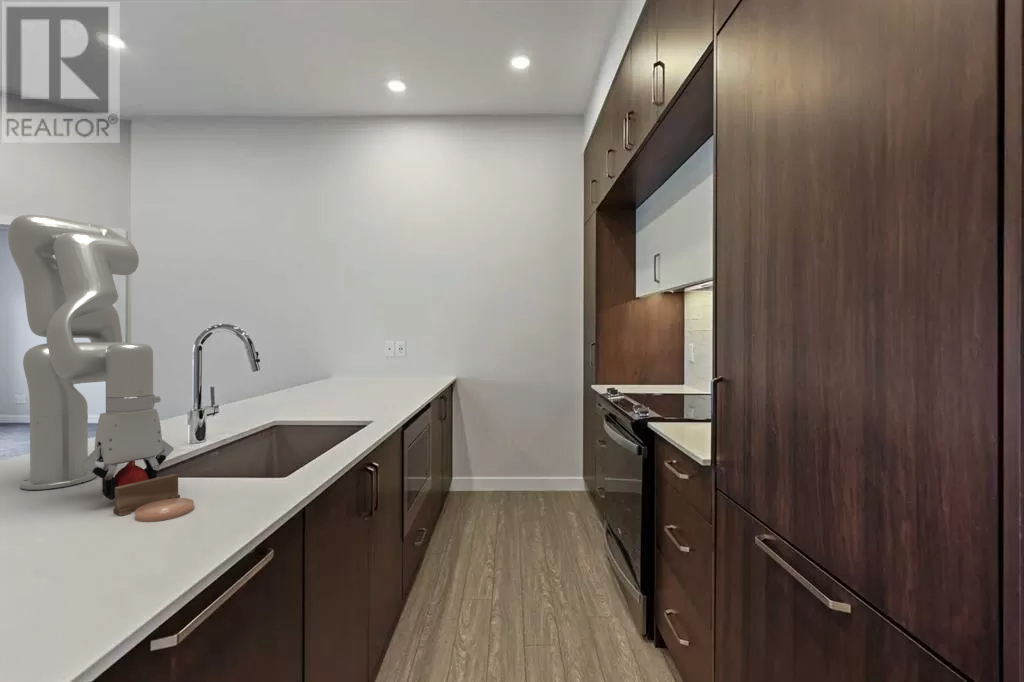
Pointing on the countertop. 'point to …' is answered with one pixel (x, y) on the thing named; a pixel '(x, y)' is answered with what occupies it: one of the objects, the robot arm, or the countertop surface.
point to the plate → (164, 509)
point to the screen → (144, 493)
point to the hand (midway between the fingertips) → (130, 492)
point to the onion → (130, 474)
